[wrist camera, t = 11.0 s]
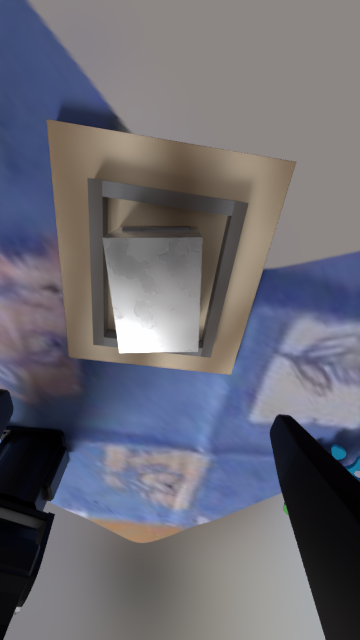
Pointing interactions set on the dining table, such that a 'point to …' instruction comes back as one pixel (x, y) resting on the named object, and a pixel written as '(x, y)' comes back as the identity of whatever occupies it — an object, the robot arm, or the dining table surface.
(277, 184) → the dock
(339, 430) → the dining table surface
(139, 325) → the block
